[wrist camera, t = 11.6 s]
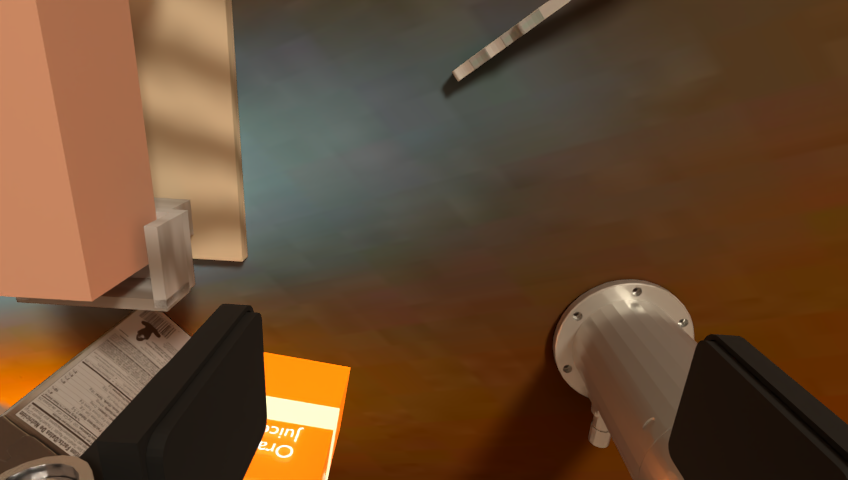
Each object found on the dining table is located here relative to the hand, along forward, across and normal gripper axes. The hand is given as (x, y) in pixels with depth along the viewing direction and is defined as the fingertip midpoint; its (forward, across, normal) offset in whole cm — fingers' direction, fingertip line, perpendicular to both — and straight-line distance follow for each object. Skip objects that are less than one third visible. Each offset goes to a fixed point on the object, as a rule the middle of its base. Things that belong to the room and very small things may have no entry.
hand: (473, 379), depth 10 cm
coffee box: (+31, +27, +20) cm, 45 cm away
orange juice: (+31, +12, +24) cm, 41 cm away
